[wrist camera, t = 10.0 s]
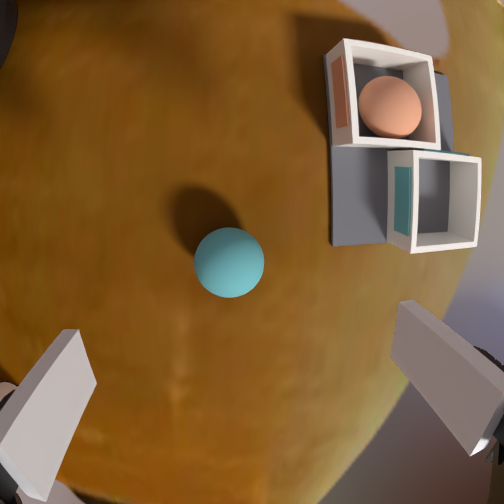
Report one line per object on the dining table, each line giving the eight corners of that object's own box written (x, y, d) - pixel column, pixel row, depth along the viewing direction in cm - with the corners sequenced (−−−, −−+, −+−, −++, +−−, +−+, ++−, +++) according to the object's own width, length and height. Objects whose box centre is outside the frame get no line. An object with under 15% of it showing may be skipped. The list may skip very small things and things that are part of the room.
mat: (322, 55, 22) (324, 53, 21) (445, 76, 23) (447, 76, 22) (331, 245, 26) (332, 246, 25) (448, 236, 27) (451, 237, 27)
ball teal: (193, 224, 24) (187, 238, 19) (258, 219, 25) (267, 232, 20) (199, 284, 26) (196, 311, 21) (260, 280, 26) (270, 305, 21)
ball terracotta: (349, 70, 21) (378, 74, 17) (402, 77, 21) (437, 86, 17) (346, 128, 24) (373, 145, 20) (397, 132, 24) (429, 149, 20)
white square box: (321, 54, 22) (340, 35, 17) (403, 66, 22) (431, 54, 18) (328, 146, 24) (349, 143, 19) (411, 150, 24) (440, 150, 20)
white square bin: (382, 148, 24) (410, 147, 20) (450, 154, 25) (481, 155, 21) (382, 240, 26) (408, 253, 22) (448, 235, 27) (476, 246, 23)
